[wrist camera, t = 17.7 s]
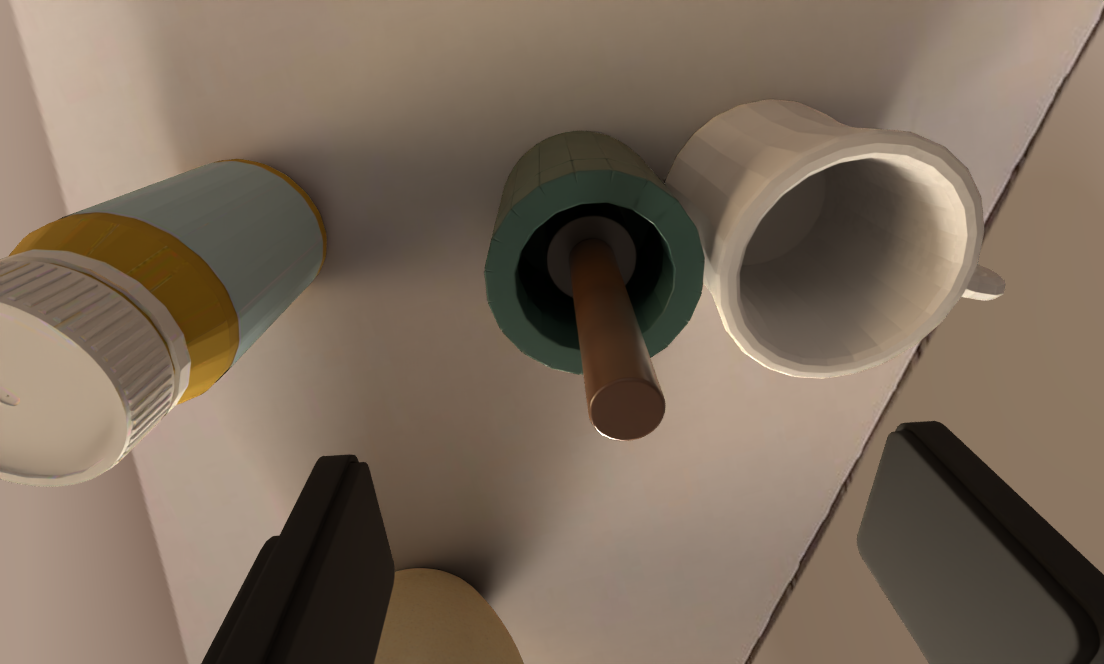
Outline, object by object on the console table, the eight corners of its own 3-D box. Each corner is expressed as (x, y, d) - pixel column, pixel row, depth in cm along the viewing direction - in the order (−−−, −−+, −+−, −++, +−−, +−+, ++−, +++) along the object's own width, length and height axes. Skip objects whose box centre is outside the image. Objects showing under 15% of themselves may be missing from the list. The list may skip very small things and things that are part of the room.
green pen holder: (507, 288, 30) (495, 379, 22) (494, 134, 26) (473, 176, 18) (653, 281, 30) (696, 370, 22) (660, 126, 26) (714, 164, 18)
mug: (635, 262, 29) (678, 360, 20) (693, 75, 25) (777, 94, 16) (851, 306, 30) (979, 416, 22) (939, 137, 26) (1141, 185, 17)
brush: (546, 254, 28) (552, 474, 14) (542, 181, 26) (546, 347, 12) (618, 250, 28) (698, 467, 14) (618, 178, 26) (712, 339, 12)
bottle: (347, 285, 29) (187, 487, 16) (218, 298, 29) (-46, 508, 16) (307, 148, 26) (65, 260, 13) (162, 164, 26) (-225, 290, 13)
